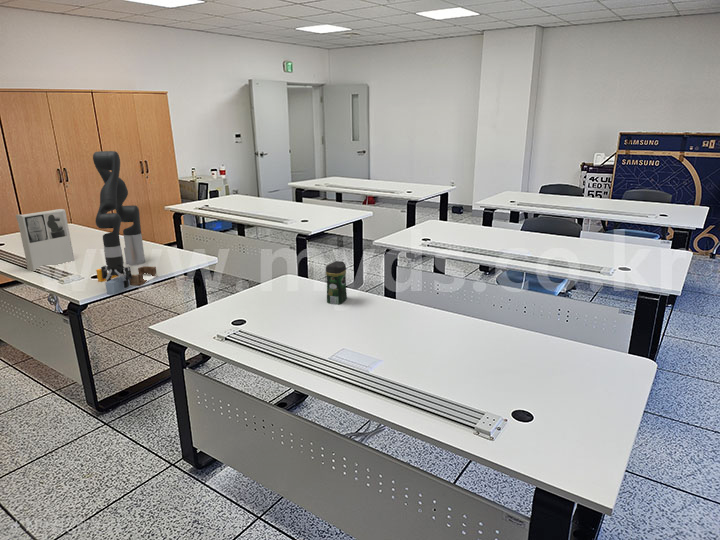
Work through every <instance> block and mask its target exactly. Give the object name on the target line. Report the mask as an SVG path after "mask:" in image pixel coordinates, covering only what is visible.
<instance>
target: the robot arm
mask: <svg viewBox="0 0 720 540" xmlns="http://www.w3.org/2000/svg"><path fill="white" fill-rule="evenodd" d="M92 161H93V164H94V167H95V168H96V171H97V172H98V174H99V176H100V177H101V179H102V181H103V186H102V187H101V189H100V193H99V207H98V211H97V213H96V216H95V225H96V227H97V228H98V229H103V230H104V229H106V230H107V229H112V231H111V232H107V233H104V234H102V242H103V252H104V259H105V264H106V265H103V266H101V267H100V269H101V271H102V278H103V279H106V282H108V281H110V280H112V279H113V278H112V276H115V275H116V276H117V277H119V276H120V277H121V278H122V279H123V280H124V281H123V282H124V288H127V287H128V286H129V282H128V280H129V279H131V278H132V275H133V274H132V270H131V266H138V265H142V264H145V262H146V257H145V250H144V242H143V236H142V228H141V217H140V209H139V207H138V205H133V204H132V205H123V204H124V202H125V201H126V199H127V198H128V196H129V190H128V188H127V186H126V182H125V181H124V180H123V178H121V177H120V171H121V159H120V155H119V153H118V152H117V151H115V150H103V151H101V150H100V151H99V150H98V151H96V152H94V153H93V155H92ZM112 211H115V212H112ZM122 223H133V224H132V225H131V226H129V227H127V228H126V227H125V228H124V229H123V230H122V233H123V241H124V248H123V249H122V246H121V240H120V229H121V224H122ZM123 251H124V254H123ZM123 255H124V256H123ZM124 258H125V262H124ZM124 263H125V264H126V265H128V264H129V266H124ZM107 273H108V274H107ZM111 278H112V279H111ZM127 289H128V288H127Z"/></svg>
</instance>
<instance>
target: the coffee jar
mask: <svg viewBox="0 0 720 540" xmlns="http://www.w3.org/2000/svg"><path fill="white" fill-rule="evenodd" d="M346 274H347V267H346V263H345V262H344V261H339V260H335V261H333V262H331V263H329V264H327V265H326V266H325V275H326V303H327V304H329V305H335V306H336V305H341V304H343V303H345V302H346V301H347V298H348V294H347V282H346V281H347V278H346V277H347V276H346Z"/></svg>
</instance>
